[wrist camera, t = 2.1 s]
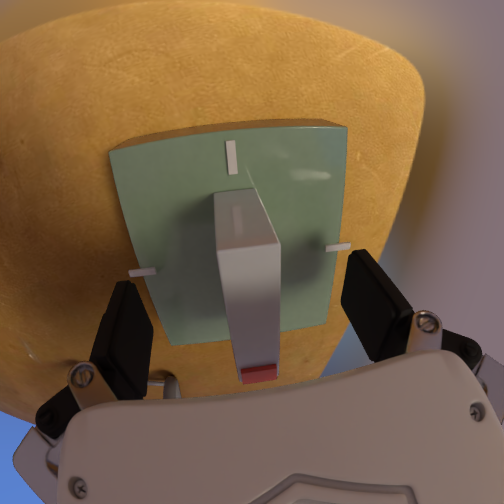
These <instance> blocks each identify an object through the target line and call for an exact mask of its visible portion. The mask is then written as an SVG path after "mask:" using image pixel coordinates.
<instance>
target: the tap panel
mask: <svg viewBox="0 0 504 504" xmlns="http://www.w3.org/2000/svg"><path fill="white" fill-rule="evenodd" d="M347 131H348V128H347V127H346V126H343V125H340V124H337V123H334V122H330V121H327V120H324V119H272V120H254V121H240V122H229V123H220V124H211V125H203V126H196V127H189V128H183V129H177V130H171V131H165V132H160V133H155V134H150V135H145V136H140V137H136V138H131V139H128V140H126V141H125V142H123V143H122V144H120V145H118V146H117V147H115V148H114V149H112V150H111V151H109V158H110V162H111V167H112V171H113V176H114V180H115V184H116V188H117V192H118V196H119V200H120V204H121V208H122V211H123V215H124V218H125V222H126V225H127V229H128V232H129V235H130V238H131V242H132V245H133V248H134V251H135V254H136V257H137V260H138V263H139V266H140V269H133V270H129V271H128V272H129V275H130V277H138V276H143V277H144V280H145V283H146V285H147V288H148V291H149V293H150V296H151V299H152V301H153V304H154V306H155V309H156V311H157V314H158V316H159V319H160V321H161V323H162V326H163V328H164V330H165V333H166V335H167V337H168V340H169V342H170V344H171V345H172V346H173V345H185V344H196V343H206V342H215V341H223V340H231V338H230V332H229V327H228V322H227V316H226V311H225V305H224V299H223V294H222V288H221V282H220V276H219V270H218V264H217V258H216V248H215V228H214V205H213V194H214V193H218V192H226V191H235V190H244V189H253V188H255V189H256V190H257V192H258V194H259V196H260V199H261V201H262V203H263V205H264V207H265V210H266V212H267V214H268V216H269V219H270V221H271V223H272V225H273V228H274V230H275V232H276V234H277V237H278V239H279V241H280V244H281V313H280V332H285V331H291V330H296V329H302V328H307V327H312V326H317V325H322V324H325V323H326V319H327V314H328V308H329V303H330V297H331V291H332V285H333V279H334V273H335V266H336V259H337V252H338V250H345V249H350V245H351V243H350V242H343V243H339V236H340V228H341V219H342V209H343V198H344V186H345V173H346V156H347Z"/></svg>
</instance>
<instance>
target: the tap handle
mask: <svg viewBox="0 0 504 504" xmlns="http://www.w3.org/2000/svg"><path fill="white" fill-rule="evenodd" d="M213 205H214V228H215V248H216V258H217V264H218V270H219V276H220V282H221V288H222V294H223V299H224V305H225V311H226V316H227V322H228V327H229V332H230V338H231V343H232V348H233V353H234V358H235V363H236V368H237V373H238V378H239V381H240V382H243V384H250V383H257V382H263V381H270V380H275V379H277V376H278V375H279V354H280V313H281V244H280V241H279V239H278V237H277V234H276V232H275V230H274V228H273V225H272V223H271V221H270V219H269V216H268V214H267V212H266V210H265V207H264V205H263V203H262V201H261V199H260V196H259V194H258V192H257V190H256V189H255V188H253V189H244V190H235V191H226V192H218V193H214V194H213Z"/></svg>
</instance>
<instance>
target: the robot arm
mask: <svg viewBox="0 0 504 504" xmlns="http://www.w3.org/2000/svg"><path fill="white" fill-rule="evenodd" d="M341 305H342V308H343V309H344V311H345V313H346V315H347V317H348V319H349V321H350V322H351V324H352V326H353V328H354V330H355V332H356V334H357V335H358V338H359V339H360V341H361V343H362V345H363V347H364V349H365V351H366V353H367V355H368V357H369V359H370V360H371V361H374V363H373V364H370V365H367V366H363V367H360V368H356V369H353V370H349V371H346V372H342V373H339V374H334V375H330V376H326V377H322V378H318V379H314V380H309V381H305V382H300V383H295V384H290V385H285V386H280V387H274V388H268V389H262V390H256V391H249V392H242V393H234V394H226V395H216V396H206V397H193V398H176V399H154V400H143V397H145V396H146V394H147V383H148V373H149V364H150V356H151V348H152V340H153V326H152V324H151V321H150V319H149V317H148V314H147V312H146V310H145V307H144V305H143V303H142V300H141V298H140V295H139V293H138V290H137V288H136V285H135V284H134V283H131V282H130V281H129V280H127V281H118V282H117V283H116V285H115V287H114V290H113V293H112V295H111V298H110V301H109V304H108V307H107V310H106V313H104V314H103V316H102V319H101V322H100V325H99V328H98V332H97V335H96V338H95V341H94V345H93V348H92V351H91V355H90V359H89V361H80V362H78V363H76V364H75V365H74V366H72V367H71V369H70V370H69V372H68V375H67V382H68V386H66V387H65V388H64V389H62V390H61V391H60V392H59V393H57V394H56V395H55V396H53V397H52V398H51V399H50V400H48V401H47V402H46V403H45V404H43V405H42V406H41V407H40V408H39V409H38V411H37V413H36V417H35V421H36V427H35V428H34V427H33V426H32V427H31V428H30V430H29V431H28V433H27V434H26V436H25V437H24V439H23V440H22V442H21V443H20V445H19V446H18V448H17V449H16V451H15V452H14V455H13V465H14V467H15V469H16V471H17V472H18V473H19V474H20V476H21V477H22V478H23V479H24V481H25V482H26V483H27V484H28V485H29V487H30V488H31V489H32V490H33V491H34V492H35V493H36V495H37V496H38V497H39V498H40V499H41V500H42V501H43V502H44V503H45V504H504V431H503V428H502V426H501V425H502V422H503V420H504V366H503V365H501V364H500V363H498V362H497V361H496V360H494V359H493V358H491V357H490V356H488V355H487V354H485V355H484V356H483V355H482V350H481V347H480V346H479V345H478V343H477V342H475V341H474V340H472V339H470V338H468V337H465V336H462V335H459V334H456V333H453V332H450V331H447V330H445V329H442V322H441V320H440V319H439V317H438V316H437V315H435V314H434V313H432V312H430V311H426V310H422V311H418V312H416V313H414V311H413V310H412V309H413V308H412V307H411V305H410V304H409V303H408V301H407V300H406V299H405V297H404V296H403V295H402V293H401V292H400V291H399V290H398V288H397V287H396V286H395V284H394V283H393V282H392V281H391V279H390V278H389V277H388V276H387V274H386V273H385V272H384V271H383V269H382V268H381V267H380V266H379V265H378V263H377V262H376V261H375V260H374V259H373V257H372V256H371V255H370V254H369V253H368V251H367V250H366V249H361V250H354V251H352V254H350V255H349V256H348V262H347V268H346V274H345V279H344V285H343V290H342V295H341Z"/></svg>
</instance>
